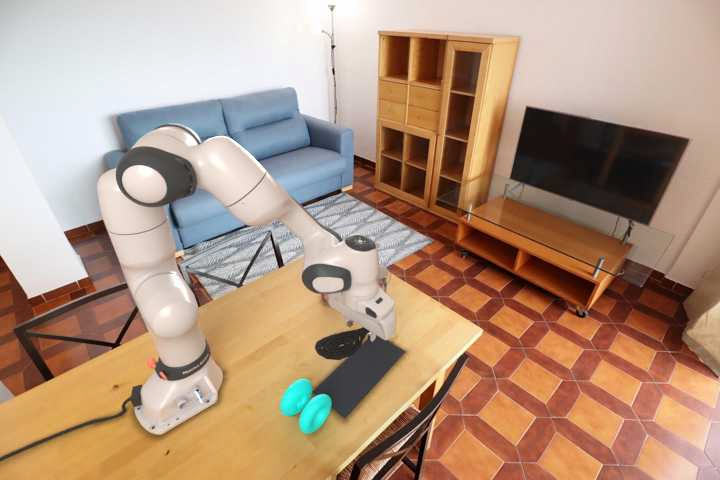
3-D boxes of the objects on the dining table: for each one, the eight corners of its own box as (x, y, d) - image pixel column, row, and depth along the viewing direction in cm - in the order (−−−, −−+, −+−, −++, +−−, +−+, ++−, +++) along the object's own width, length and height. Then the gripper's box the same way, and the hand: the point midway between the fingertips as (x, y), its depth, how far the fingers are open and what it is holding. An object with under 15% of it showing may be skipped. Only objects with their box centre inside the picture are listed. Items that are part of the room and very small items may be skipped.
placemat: (344, 418, 95) (344, 418, 95) (312, 392, 101) (312, 391, 101) (405, 352, 113) (405, 351, 113) (374, 333, 120) (374, 332, 119)
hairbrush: (405, 321, 101) (323, 358, 89) (404, 331, 103) (323, 368, 91) (387, 304, 107) (308, 336, 95) (386, 314, 109) (309, 346, 97)
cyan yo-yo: (308, 392, 101) (305, 369, 96) (334, 414, 96) (333, 390, 91) (279, 419, 95) (275, 395, 90) (306, 443, 90) (303, 420, 84)
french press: (355, 300, 133) (355, 242, 119) (378, 286, 139) (381, 230, 125) (374, 314, 126) (376, 255, 113) (397, 299, 133) (402, 242, 119)
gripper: (321, 282, 95) (324, 320, 103) (385, 319, 84) (383, 358, 92) (337, 271, 99) (339, 308, 107) (401, 304, 88) (398, 343, 96)
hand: (360, 332), depth 99 cm, fingers closed on hairbrush, 6 cm apart
